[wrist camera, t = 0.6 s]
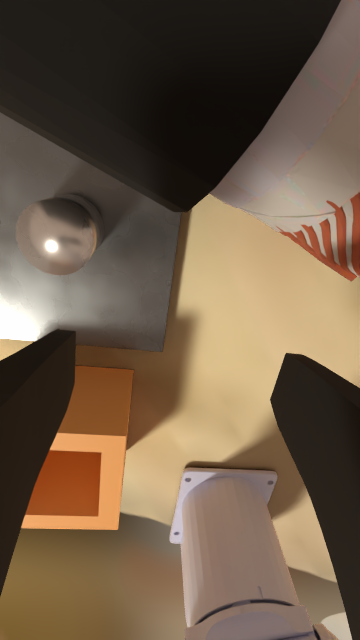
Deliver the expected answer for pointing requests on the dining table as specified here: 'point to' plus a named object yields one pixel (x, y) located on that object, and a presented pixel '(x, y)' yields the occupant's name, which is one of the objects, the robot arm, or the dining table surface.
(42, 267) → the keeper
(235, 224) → the dining table surface
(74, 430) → the orange hollow block
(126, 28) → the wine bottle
